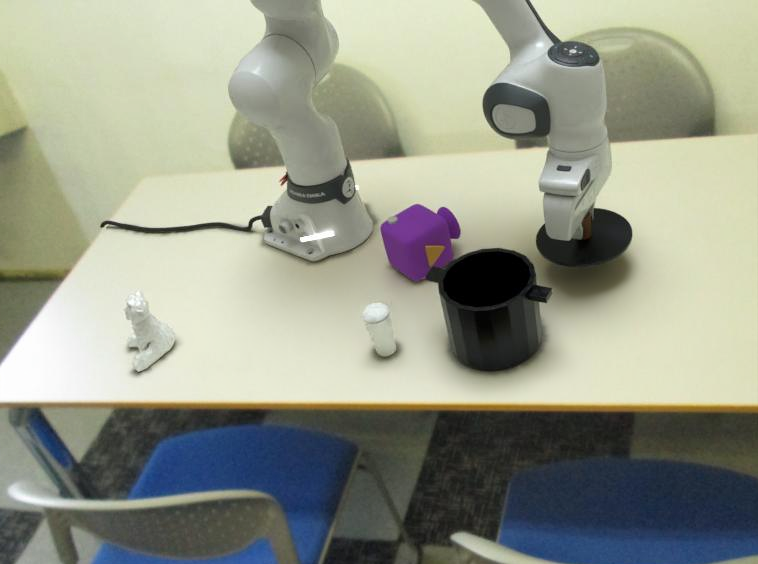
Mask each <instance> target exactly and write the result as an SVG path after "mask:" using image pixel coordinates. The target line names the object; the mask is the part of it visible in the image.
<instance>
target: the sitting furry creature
mask: <svg viewBox="0 0 758 564" xmlns="http://www.w3.org/2000/svg"><path fill="white" fill-rule="evenodd" d="M125 302H126V307H124V309H123V311H124V314H125V319H126V320H127V321H130V322H131V325H132V326H131V328H132V331H133V333H132V334H130V335H128V336H127V339H126V343H127V346H128V347H129V348H138V353H137V354H136V355H135V356H134V359H133V360H132V361H131V365H132V368H133V369H134V370H135V371H137V372H138V373H140V372H142V371H145V370H146V369H149V367H150V366H151V365H153V364H154V363H155V362H157V361H158V360H159V359H160V358H162V357H163V356H164V355H165V354H167V353H168V352H170V351H171V350H172V348H173V347H174V344H175V342H176V340H175V339H176V333H175V331H174V330H173V328H172V327H171V325H169V323H165V322H162V321H161V320H158V319H157V317H156V316H155V315H154V314H153V313H151V312H150V305H149V301H148V300H147V299H146V298H145V295H144V293H143V291H141V290H139V289H138V290H137V291H136V292H135V294H130V295H128V296H127V298H126V299H125Z"/></svg>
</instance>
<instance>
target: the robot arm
mask: <svg viewBox="0 0 758 564" xmlns="http://www.w3.org/2000/svg"><path fill="white" fill-rule="evenodd" d="M249 1H250V3H251V5H252V6H253V7H254V8H256V10H258V11H259V12H260V13H262V14H263V16H264V21H265V30H264V34H263V37H262V38H261V40H260V41H259V42H258V43H257V44H256V45H255V46H254V47H253V48H252V49H250V50H249V52H247V53H246V54H245V55H244V56H243V57H242V58H241V59H240V61H239V62H238V64H237V65H236V67H235V69H234V70H233V73H232V74H231V77H230V78H229V81H228V85H227V92H228V97H229V100H230V102H231V104H232V106H233V108H234V109H235V111H236V112H237V113H238V115H240V116H241V117H242V118H243V119H244V120H245V121H247V122H249V123H251V124H253V125H255V126H258V127H262V128H264V129H265V130H266V131H267V132H268V133H269V135H270V136H271V137H272V138H273V139H274V142H275V144H276V146H277V148H278V150H279V153H280V156H281V158H282V161H283V163H284V167H285V169H286V171H285V174H284V175H283V176H282V177H281V178H280V179H279V181H278V182H279V183H280V187H282V186H283V185H284V184H285V183H286V189H285V191H283V193H282V194H281V195H280V196H279V197H278V198H277V200H276V201H275V202H274V203H273V204H272V205H267V206H266V207H265V209H264V211H263V213H262V214H260V215H256V216H253V217H251V218H250V219H249V220H248V225H247V226H237V225H234V224H231V223H227V222H220V221H216V222H215V221H214V222H213V221H212V222H204V223H203V222H202V223H198V224H190V225H181V226H170V227H169V226H168V227H146V226H139V225H134V224H129V223H123V222H122V223H121V222H117V221H114V220H104V221H102V222H101V223H100V226H99V228H100V229H102V228H104V227H105V226H107V225H109V226H110V225H111V226H115V227H118V228H125V229H131V230H136V231H139V232H148V233H149V232H150V233H165V232H179V231H189V230H190V231H191V230H197V229H203V228H204V229H205V228H210V227H222V228H228V229H231V230H234V231H239V232H249V231H251V230H252V228H253V224H254V223H255V222H256V221H261V223H262V227H263V228H265V229H266V230H265V233H264V236H263V240H264V243H265V244H266V245H268V246H271V247H274V248H275V249H276V248H277V249H279V250H282V251H284V252H287V253H289V254H292V255H294V256H297V257H299V258H302V259H304V260H307V261H310V262H318V261H321V260H323V259H325V258H327V257H329V256H333V255H337V254H342V253H345V252H347V251H351V250H353V249H354V248H356V247H358V246H360V245H361V244H362V243H363V242H365V241H366V240H367V239H368V238H369V237H370V236H371V234H372V232H373V230H374V221H373V218H372V217H371V216H370V214H369V212H368V211H367V207H366V205H365V202H363V200H362V198H361V196H360V193H359V191H358V190H359V189H360V187H359V185H356V181H355V175H354V172H353V169H352V164H351V163H350V162H351V161H350V160H349V158H347V156H346V153H345V149H344V146H343V142H342V138H341V135H340V131H339V128H338V125H337V124H336V122H335V121H334V119H333V118H331V117H330V116H328V115H326V114H324V113H321V112H318V110H317V109H316V107H315V105H314V103H313V98H312V92H313V90H314V89H315V88H316V87H317V86H318V85H319V84H320V82H321V81H323V79H324V78H325V77H326V76H327V75H328V74H329V72H330V70H331V69H332V67H333V65H334V62H335V60H336V58H337V56H338V53H339V50H340V40H339V36H338V33H337V30H336V29H335V26H334V25H333V24H332V22H331V21H330V20H329V19H328V18H327V17H326V16H325V14H324V10H323V6H322V1H321V0H249ZM471 1H473V2H474V3H476V5H478V6H479V7H480V8H482V10H483V11H484V13H485V15H486V16H487V17H488V19H489V20H490V22H491V23H492V25H493V27H495V29H496V31H497V33H498V34H499V35H500V37H501V38H502V40H503V41H504V43H505V45H506V46H507V48H508V51H509V63H508V64H507V65H506V66H505V67H504V68H503V70H501V71H500V72H499V74H498V75H497V76H496V77H494V78H495V79H493V80H492V82H491V83H490V85H489V86H488V88H487V89H485V92H484V93H483V96H482V103H481V106H482V113H483V115H484V118H485V120H486V122H487V124H488V126H489V127H490V128H491V129H492V130H493V131H494V132H495V133H496V134H497V135H499V136H500V137H503V138H505V139H507V140H514V141H519V140H521V141H523V140H535V139H536V140H537V139H542V138H545V137H546V138H547V147H548V150H547V152H546V157H545V163H544V166H543V169H542V171H541V173H540V176H539V179H538V189H539V190H538V191H540V192H541V193H543V196H542V197H543V198H542V210H543V220H544V223H545V227H546V232H547V235H548V236H549V237H550V238H552V239H557V240H564V241H569V240H571V238H573V239H578V240H581V239H582V237H583V236H584V234H585V226H582V224H581V223H582V220H583V219H584V217H585V215H586V214H587V212H588V211H589V212H590V214H591V222H592V221H593V219H594V218H593V211H594V208H596V207H595V206H596V202H597V197H598V196H599V194H600V193H601V191H602V190H603V188H604V186H605V185H606V183H607V181H608V180H609V178H610V177H611V174H612V171H613V158H612V157H613V156H612V147H611V146H612V145H611V141H610V139H609V135H608V126H607V124H606V121H605V119H606V118H605V117H606V116H605V115H606V113H607V110H608V100H607V99H608V98H607V97H608V95H607V83H606V75H605V68H604V63H603V61H602V57H601V56H600V54H599V52H598V51H597V50H596V49H595V48H594V47H593V46H592V45H589V44H587V43H585V42H582V41H575V40H568V41H567V40H565V41H562V40H561V39H560V38H559V37H558V36H556V35H555V34H554V33H553V32H552V30H550V29H549V27H548V26H547V25H546V23H545V22H544V21H543V19H542V18H541V16H540V14H539V13H538V11H537V10H536V8H535V7H534V5H533V3H532V2H531V0H471Z"/></svg>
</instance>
